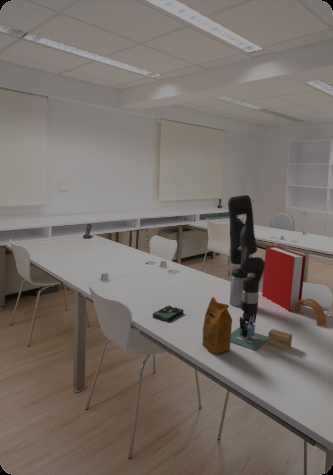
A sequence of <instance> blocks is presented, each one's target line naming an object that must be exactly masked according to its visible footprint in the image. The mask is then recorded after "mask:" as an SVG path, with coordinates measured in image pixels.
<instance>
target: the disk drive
mask: <svg viewBox="0 0 333 475" xmlns="http://www.w3.org/2000/svg"><path fill="white" fill-rule="evenodd" d="M183 314H184V309H182V308H178V307H174V306H172V305H166V306H165V307H163V308H161V309H159V310H157V311H154V312H153V313H152V318H154V319H157V320H160V321H164V322H167V323H170V322H172V321H173V320H175V319H176V318H178V317H180V316H181V315H183Z"/></svg>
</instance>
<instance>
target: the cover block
mask: <svg viewBox="0 0 333 475" xmlns="http://www.w3.org/2000/svg"><path fill="white" fill-rule="evenodd" d="M267 337H268V340H267V345H268V346H272V347H275V348H278V349H281V350H283V351H287V352H288V350H289V349H291V347H292V342H293V334H292V333H289V332H286V331H282V330H279V329H276V328H272V329H270V331H268V336H267Z"/></svg>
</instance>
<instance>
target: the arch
mask: <svg viewBox="0 0 333 475" xmlns="http://www.w3.org/2000/svg"><path fill="white" fill-rule="evenodd" d="M304 303H305V304H307V305H308V306H310V308H311V310H312V311H313V313H314V315H315V319H316V320H315V322H316V323H315V324H316V326H318V327H319V326H324V325H327V317H326V314H325V310H324V309H323V307H322V306H321V305H320V303H319V302H317V301H316V300H315V299H312V298H305V299H301V300H298V301H296V302H295V303H294V304H293V306H292V308H291V310H290V312H291V311H292V312H291V313H294V312H293V311H297V312H301V308H300V307H302V305H303V304H304Z"/></svg>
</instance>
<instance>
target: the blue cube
mask: <svg viewBox="0 0 333 475" xmlns="http://www.w3.org/2000/svg"><path fill="white" fill-rule="evenodd" d="M255 329H256V325H255V324H254V325H253V324H250V325H248V329H247V337H245V338H248V339H250V338H251V337H253V336H254V332H255V333H256V330H255ZM240 336H242V329H240ZM242 337H243V336H242Z"/></svg>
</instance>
